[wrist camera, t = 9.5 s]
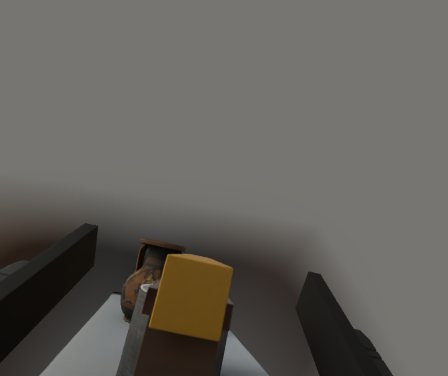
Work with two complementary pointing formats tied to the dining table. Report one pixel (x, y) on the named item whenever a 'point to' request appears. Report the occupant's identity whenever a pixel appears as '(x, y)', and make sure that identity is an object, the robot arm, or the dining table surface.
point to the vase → (146, 272)
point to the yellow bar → (192, 296)
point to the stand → (175, 347)
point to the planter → (136, 338)
